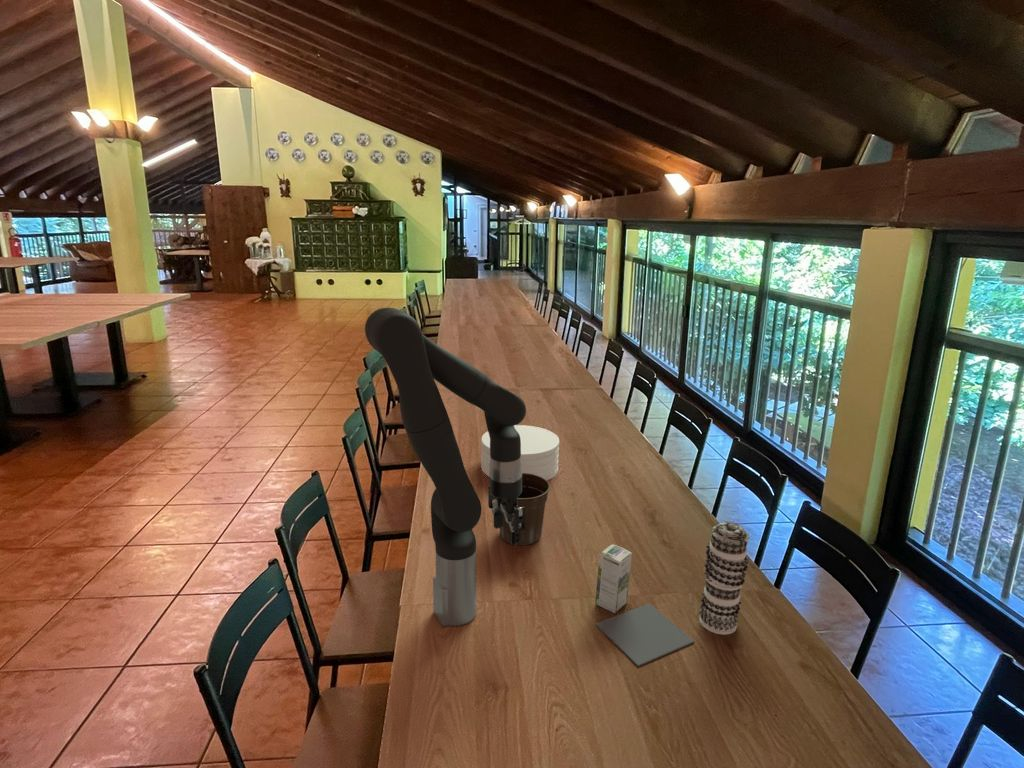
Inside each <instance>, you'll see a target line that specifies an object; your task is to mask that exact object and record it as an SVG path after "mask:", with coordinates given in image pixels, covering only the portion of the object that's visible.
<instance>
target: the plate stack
mask: <svg viewBox="0 0 1024 768" xmlns="http://www.w3.org/2000/svg"><path fill="white" fill-rule="evenodd" d="M514 428H515V429H516V431H517V432H518V433H519V435H520V440H521V461H522V473H529V474H534V475H538V476H540V477H542V478H544V479H546V480H547V481H550V480H551V479H553V478H555V476H557V474H558V472H559V458H560V457H559V456H560V455H559V453H560V438H559V436H558V435H557V434H556V433H554V432H552V431H551V430H549V429H545V428H542V427H538V426H533V425H524V424H517V425H514ZM480 455H481V459H480V461H481V468H482V469H481V468H480V469H481V471H483V472H484V473H485V474H486V475H487V476H489V477H490V472H489V464H490V436H489V433H488V430H487V431H486V432H485V433H484V434H483V435H482V436H481V454H480ZM483 472H482V473H483ZM484 473H483V474H484ZM485 474H484V475H485ZM486 475H485V476H486ZM487 476H486V477H487ZM489 477H488V478H489Z"/></svg>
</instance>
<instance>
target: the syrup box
mask: <svg viewBox="0 0 1024 768" xmlns="http://www.w3.org/2000/svg"><path fill="white" fill-rule="evenodd" d="M632 555H633V552H631V551H629V550H628V549H626V548H623V547H622V546H618V545H616V544H610V545H609V546H608V547H606V548H605V549H604V550H602V551H601V552H599V557H598V559H599V560H598V571H597V578H596V579H597V581H596V582H597V583H596V592H595V593H596V594H595V605H597V606H599V607H601V608H603V609H604V610H606V611H609V612H610V613H613V614H617V613H618V612H619V611H620V610H621V609H622V608H623V607H624V606H625V605H626V604H627V603H628V594H629V585H630V575H631V566H632Z"/></svg>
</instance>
